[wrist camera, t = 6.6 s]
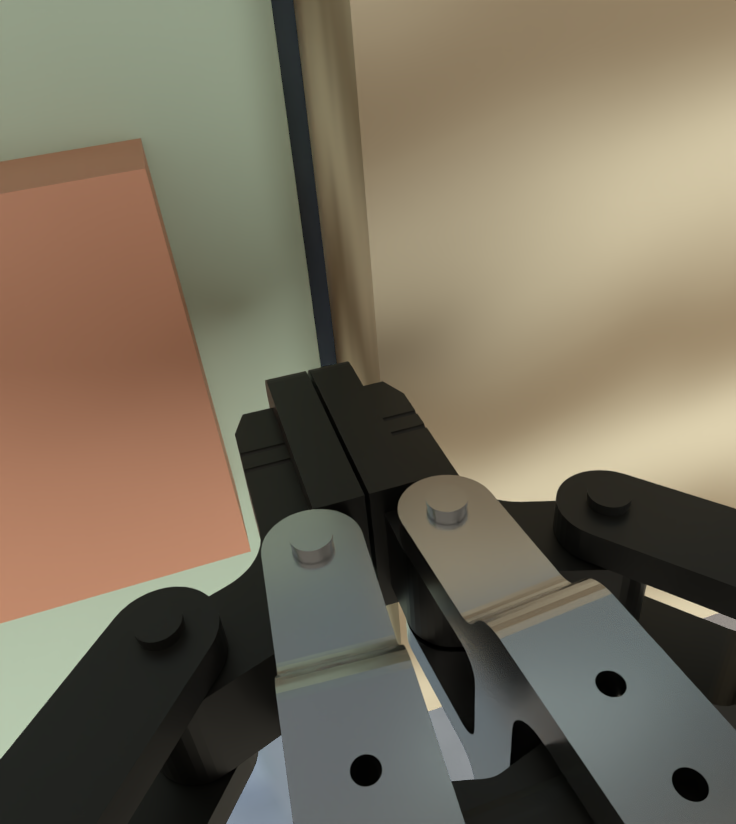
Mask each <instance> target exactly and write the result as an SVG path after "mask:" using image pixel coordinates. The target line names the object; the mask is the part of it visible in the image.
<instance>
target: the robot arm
mask: <svg viewBox="0 0 736 824" xmlns="http://www.w3.org/2000/svg"><path fill="white" fill-rule="evenodd" d="M265 386H266V392H267V397H268V402H269V407H270V408H268V409H264V410H260V411H255V412H251V413H247V414H243V415H242V417H241V420H240V422H239V425H238V427H237V430H236V432H235V438H236V442H237V446H238V450H239V454H240V459H241V463H242V467H243V471H244V475H245V480H246V484H247V488H248V492H249V496H250V501H251V505H252V509H253V512H254V516H255V520H256V524H257V528H258V532H259V536H260V540H261V541H260V548H259V551H258V554H257V556H256V558H255V560H254V561H253V563H252V564H251V566H250V567H249V568H248V569H247V570H246V571H245V572H244V574H242V575H241V576H240V577H239V578H238V579H236V580H235V581H234V582H232V583H230V584H229V585H227V586H226V587H224V588H222V589H221V590H219V591H217V592H215V593H214V594H212V595H210V596H208V595H206V594H205V593H203V592H201V591H199V590H197V589H194V588H189V587H177V586H175V587H166V588H162V589H158V590H155V591H152V592H149V593H147V594H145V595H143V596H141V597H139V598H137V599H136V600H134V601H133V602H131V603H130V604H128V605H127V606H126V607H125V608H124V609H122V610H121V611H120V612H119V614H118V615H117V616H116V617H115V618H114V619H113V620H112V622H111V623H110V624H109V625H108V627H107V628H106V629H105V630H104V631H103V633H102V634H101V635H100V636H99V638H98V639H97V640H96V641H95V643H94V644H93V645H92V646H91V648H90V649H89V650H88V651H87V653H86V654H85V655H84V656H83V657H82V659H81V660H80V661H79V662H78V664H77V665H76V666H75V667H74V669H73V670H72V671H71V672H70V674H69V675H68V676H67V677H66V679H65V680H64V681H63V682H62V683H61V685H60V686H59V687H58V688H57V690H56V691H55V692H54V693H53V695H52V696H51V697H50V698H49V700H48V701H47V702H46V703H45V705H44V706H43V707H42V708H41V709H40V711H39V712H38V713H37V714H36V716H35V717H34V718H33V719H32V721H31V722H30V723H29V724H28V726H27V727H26V728H25V729H24V730H23V732H22V733H21V734H20V735H19V737H18V738H17V739H16V740H15V742H14V743H13V744H12V745H11V747H10V748H9V749H8V750H7V752H6V753H5V754H4V755H3V756H2V758H1V759H0V824H226V823H227V821H228V819H229V817H230V815H231V813H232V811H233V809H234V807H235V805H236V803H237V801H238V799H239V797H240V795H241V793H242V791H243V789H244V787H245V785H246V783H247V781H248V779H249V777H250V775H251V773H252V771H253V769H254V766H255V764H256V761H257V757H258V751H260V750H261V749H262V748H264V747H265V746H267V745H268V744H269V743H271V742H272V741H273V740H275V739H276V738H278V737H279V736H280V735H281V736H282V743H283V751H284V758H285V766H286V774H287V781H288V789H289V796H290V804H291V811H292V819H293V824H736V631H734V630H731V629H728V628H725V627H723V626H720V625H718V624H715V623H713V622H710V621H708V620H705V619H702V618H700V617H697V616H695V615H692V614H690V613H687V612H685V611H682V610H680V609H677V608H675V607H672V606H670V605H667V604H664V603H662V602H659V601H657V600H654V599H652V598H649V597H647V596H644V595H645V590H646V586H647V585H648V586H651V587H653V588H656V589H659V590H661V591H664V592H666V593H669V594H672V595H674V596H677V597H679V598H682V599H684V600H687V601H690V602H692V603H695V604H697V605H700V606H703V607H705V608H708V609H710V610H713V611H716V612H718V613H721V614H723V615H726V616H728V617H731V618H734V619H736V509H735V508H732V507H729V506H726V505H723V504H719V503H716V502H713V501H710V500H707V499H703V498H700V497H697V496H694V495H691V494H687V493H684V492H681V491H678V490H675V489H671V488H668V487H665V486H662V485H659V484H655V483H652V482H649V481H646V480H643V479H639V478H636V477H633V476H630V475H627V474H623V473H619V472H615V471H608V470H591V471H585V472H581V473H578V474H575V475H573V476H571V477H569V478H568V479H566V480H565V481H564V482H563V483H562V484H561V485H560V487H559V489H558V491H557V495H556V501H529V502H511V501H503V500H498V499H496V498H495V496H494V495H493V494H492V493H491V492H490V491H489V490H488V489H487V488H486V487H485V486H483V485H482V484H480V483H479V482H477V481H475V480H472V479H469V478H466V477H462V476H459V475H458V473H457V472H456V470H455V469H454V467H453V466H452V464H451V463H450V461H449V460H448V458H447V457H446V455H445V454H444V452H443V451H442V449H441V448H440V446H439V445H438V443H437V442H436V440H435V439H434V437H433V436H432V434H431V433H430V431H429V430H428V428H427V427H426V428H425V425H424V423H423V421H422V420H421V418H420V417H419V415H418V414H416V412H415V409H414V408H413V406H412V405H411V403H410V402H409V400H408V399H407V397H406V396H405V394H404V393H402V392H401V391H399V390H397V389H396V388H394V387H392V386H390V385H389V384H387V383H385V382H383V381H382V382H378V383H373V384H369V385H365V386H363V384H362V383H361V381H360V379H359V377H358V376H357V374H356V372H355V371H354V369H353V367H352V366H351V364H350V363H349V362H348V361H346V362H342V363H337V364H333V365H329V366H324V367H320V368H315V369H311V370H308V374H307V372H306V371H303V372H299V373H294V374H290V375H285V376H281V377H277V378H272V379H268V380H265ZM397 602H399V604H400V606H401V608H402V610H403V613H404V615H405V617H406V627H407V638H408V643H409V645H410V647H411V650H412V651H413V653H414V655H415V657H416V659H417V661H418V663H419V664H420V666H421V668H422V670H423V672H424V674H425V676H426V678H427V679H428V681H429V683H430V685H431V687H432V689H433V691H434V692H435V694H436V696H437V698H438V700H439V702H440V704H441V705H442V707H443V709H444V711H445V713H446V715H447V717H448V719H449V720H450V722H451V724H452V726H453V728H454V730H455V732H456V733H457V735H458V737H459V739H460V741H461V743H462V745H463V747H464V749H465V751H466V753H467V756H468V758H469V761H470V764H471V767H472V771H473V775H474V780H462V781H451V779H450V776H449V773H448V770H447V767H446V764H445V761H444V758H443V755H442V752H441V749H440V746H439V743H438V740H437V737H436V734H435V731H434V728H433V725H432V722H431V719H430V716H429V713H428V709H427V706H426V703H425V700H424V697H423V694H422V691H421V688H420V685H419V682H418V679H417V676H416V673H415V670H414V667H413V664H412V661H411V659H410V656H409V653H408V651H407V649H406V647H405V646H404V645H399V644H398V642H397V639H396V636H395V633H394V630H393V627H392V624H391V621H390V618H389V614H388V611H387V608H386V606H387V605H390V604H393V603H397Z"/></svg>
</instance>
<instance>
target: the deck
mask: <svg viewBox="0 0 736 824" xmlns="http://www.w3.org/2000/svg"><path fill="white" fill-rule="evenodd" d="M293 2H294V10H295V19H296V27H297V35H298V44H299V52H300V60H301V69H302V77H303V85H304V94H305V102H306V110H307V119H308V127H309V135H310V143H311V152H312V160H313V168H314V177H315V185H316V193H317V202H318V210H319V218H320V227H321V235H322V243H323V252H324V260H325V268H326V277H327V285H328V293H329V302H330V310H331V318H332V327H333V335H334V343H335V352H336V360H337V363H342V362H346V361H348V362H349V363H350V364H351V366H352V367H353V369H354V371H355V372H356V374H357V376H358V377H359V379H360V381H361V383H362V384H363V386H365V385H369V384H373V383H378V382H382V381H383V382H385V383H387V384H389V385H390V386H392V387H394V388H396V389H397V390H399V391H401V392H402V393H404V394H405V396H406V397H407V399H408V400H409V402H410V403H411V405H412V406H413V408H414V409H415V412H416V414H418V415H419V417H420V418H421V420H422V421H423V423H424V425H425V428H426V427H427V428H428V430H429V431H430V433H431V434H432V436H433V437H434V439H435V440H436V442H437V443H438V445H439V446H440V448H441V449H442V451H443V452H444V454H445V455H446V457H447V458H448V460H449V461H450V463H451V464H452V466H453V467H454V469H455V470H456V472H457V473H458V475H459V476H462V477H466V478H469V479H472V480H475V481H477V482H479V483H480V484H482V485H483V486H485V487H486V488H487V489H488V490H489V491H490V492H491V493H492V494H493V495H494V496H495V498H496V499H498V500H503V501H511V502H529V501H556V495H557V491H558V489H559V487H560V485H561V484H562V483H563V482H564V481H565V480H566V479H568V478H569V477H571V476H573V475H575V474H578V473H581V472H585V471H591V470H608V471H615V472H619V473H623V474H627V475H630V476H633V477H636V478H639V479H643V480H646V481H649V482H652V483H655V484H659V485H662V486H665V487H668V488H671V489H675V490H678V491H681V492H684V493H687V494H691V495H694V496H697V497H700V498H703V499H707V500H710V501H713V502H716V503H719V504H723V505H726V506H729V507H732V508H735V509H736V0H293ZM644 596H647V597H649V598H652V599H654V600H657V601H659V602H662V603H664V604H667V605H670V606H672V607H675V608H677V609H680V610H682V611H685V612H687V613H690V614H692V615H695V616H697V617H700V618H705V617H708V616H711V615H714V614H717V613H718V612H716V611H713V610H710V609H708V608H705V607H703V606H700V605H697V604H695V603H692V602H690V601H687V600H684V599H682V598H679V597H677V596H674V595H672V594H669V593H666V592H664V591H661V590H659V589H656V588H653V587H651V586H648V585H647V586H646V590H645V595H644ZM386 608H387V611H388V614H389V618H390V621H391V624H392V627H393V630H394V633H395V636H396V639H397V642H398V644H399V645H404V646H405V647H406V649H407V651H408V653H409V656H410V659H411V661H412V664H413V667H414V670H415V673H416V676H417V679H418V682H419V685H420V688H421V691H422V694H423V697H424V700H425V703H426V706H427V709H428V711H431V710H434V709H437V708H440V707H442V705H441V704H440V702H439V700H438V698H437V696H436V694H435V692H434V691H433V689H432V687H431V685H430V683H429V681H428V679H427V678H426V676H425V674H424V672H423V670H422V668H421V666H420V664H419V663H418V661H417V659H416V657H415V655H414V653H413V651H412V650H411V647H410V645H409V643H408V638H407V627H406V617H405V615H404V613H403V610H402V608H401V606H400V604H399V602H397V603H393V604H390V605H387V606H386Z"/></svg>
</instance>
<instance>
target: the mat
mask: <svg viewBox="0 0 736 824" xmlns="http://www.w3.org/2000/svg"><path fill="white" fill-rule="evenodd" d="M139 138H141V141H142V145H143V148H144V152H145V156H146V159H147V163H148V167H149V170H150V174H151V178H152V181H153V185H154V189H155V192H156V196H157V200H158V203H159V207H160V211H161V214H162V218H163V222H164V225H165V229H166V233H167V236H168V240H169V244H170V247H171V251H172V255H173V258H174V262H175V266H176V269H177V273H178V277H179V280H180V284H181V288H182V291H183V295H184V299H185V302H186V306H187V310H188V313H189V317H190V321H191V324H192V328H193V332H194V335H195V339H196V343H197V346H198V350H199V354H200V357H201V361H202V364H203V368H204V372H205V375H206V379H207V383H208V386H209V390H210V394H211V397H212V401H213V405H214V408H215V412H216V416H217V419H218V423H219V427H220V430H221V434H222V438H223V441H224V445H225V449H226V452H227V456H228V460H229V463H230V467H231V471H232V474H233V478H234V482H235V485H236V489H237V493H238V498H239V502H240V506H241V510H242V515H243V519H244V523H245V528H246V532H247V536H248V541H249V545H250V549H251V551H250V552H247V553H243V554H240V555H237V556H233V557H230V558H226V559H223V560H219V561H216V562H212V563H209V564H205V565H202V566H198V567H195V568H191V569H188V570H185V571H181V572H178V573H174V574H171V575H167V576H164V577H160V578H157V579H153V580H150V581H146V582H143V583H139V584H136V585H132V586H129V587H126V588H122V589H119V590H115V591H112V592H108V593H105V594H101V595H98V596H94V597H91V598H87V599H84V600H80V601H77V602H74V603H70V604H67V605H63V606H60V607H56V608H53V609H49V610H46V611H42V612H39V613H35V614H32V615H28V616H25V617H22V618H18V619H15V620H11V621H8V622H4V623H1V624H0V758H2V756H3V755H4V754H5V753H6V752H7V750H8V749H9V748H10V747H11V745H12V744H13V743H14V742H15V740H16V739H17V738H18V737H19V735H20V734H21V733H22V732H23V730H24V729H25V728H26V727H27V726H28V724H29V723H30V722H31V721H32V719H33V718H34V717H35V716H36V714H37V713H38V712H39V711H40V709H41V708H42V707H43V706H44V705H45V703H46V702H47V701H48V700H49V698H50V697H51V696H52V695H53V693H54V692H55V691H56V690H57V688H58V687H59V686H60V685H61V683H62V682H63V681H64V680H65V679H66V677H67V676H68V675H69V674H70V672H71V671H72V670H73V669H74V667H75V666H76V665H77V664H78V662H79V661H80V660H81V659H82V657H83V656H84V655H85V654H86V653H87V651H88V650H89V649H90V648H91V646H92V645H93V644H94V643H95V641H96V640H97V639H98V638H99V636H100V635H101V634H102V633H103V631H104V630H105V629H106V628H107V627H108V625H109V624H110V623H111V622H112V620H113V619H114V618H115V617H116V616H117V615H118V614H119V612H120V611H121V610H122V609H124V608H125V607H126V606H127V605H128V604H130V603H131V602H133V601H134V600H136V599H137V598H139V597H141V596H143V595H145V594H147V593H149V592H152V591H155V590H158V589H162V588H166V587H175V586H177V587H189V588H194V589H197V590H199V591H201V592H203V593H205V594H206V595H208V596H210V595H212V594H214V593H215V592H217V591H219V590H221V589H222V588H224V587H226V586H227V585H229V584H230V583H232V582H234V581H235V580H236V579H238V578H239V577H240V576H241V575H242V574H244V572H245V571H246V570H247V569H248V568H249V567H250V566H251V564H252V563H253V561H254V560H255V558H256V556H257V554H258V551H259V548H260V541H261V540H260V536H259V532H258V528H257V524H256V520H255V516H254V512H253V509H252V505H251V501H250V496H249V492H248V488H247V484H246V480H245V475H244V471H243V467H242V463H241V459H240V454H239V450H238V446H237V442H236V438H235V432H236V430H237V427H238V425H239V422H240V420H241V417H242V415H243V414H247V413H251V412H255V411H260V410H264V409H268V408H270V407H269V402H268V397H267V392H266V386H265V380H268V379H272V378H277V377H281V376H285V375H290V374H294V373H299V372H303V371H306V372H307V374H308V370H311V369H315V368H320V367H321V365H320V358H319V350H318V343H317V336H316V328H315V321H314V314H313V306H312V299H311V291H310V284H309V277H308V269H307V262H306V255H305V247H304V240H303V233H302V225H301V218H300V211H299V203H298V196H297V189H296V181H295V174H294V167H293V159H292V152H291V145H290V137H289V130H288V123H287V115H286V108H285V100H284V93H283V86H282V78H281V71H280V64H279V56H278V49H277V42H276V34H275V27H274V20H273V12H272V5H271V0H0V162H1V161H7V160H13V159H19V158H25V157H31V156H37V155H43V154H49V153H55V152H61V151H67V150H73V149H79V148H85V147H91V146H97V145H103V144H109V143H115V142H121V141H127V140H133V139H139Z"/></svg>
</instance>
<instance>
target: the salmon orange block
mask: <svg viewBox="0 0 736 824" xmlns="http://www.w3.org/2000/svg"><path fill="white" fill-rule="evenodd" d="M250 551H251V549H250V545H249V541H248V536H247V532H246V528H245V523H244V519H243V515H242V510H241V506H240V502H239V498H238V493H237V489H236V485H235V482H234V478H233V474H232V471H231V467H230V463H229V460H228V456H227V452H226V449H225V445H224V441H223V438H222V434H221V430H220V427H219V423H218V419H217V416H216V412H215V408H214V405H213V401H212V397H211V394H210V390H209V386H208V383H207V379H206V375H205V372H204V368H203V364H202V361H201V357H200V354H199V350H198V346H197V343H196V339H195V335H194V332H193V328H192V324H191V321H190V317H189V313H188V310H187V306H186V302H185V299H184V295H183V291H182V288H181V284H180V280H179V277H178V273H177V269H176V266H175V262H174V258H173V255H172V251H171V247H170V244H169V240H168V236H167V233H166V229H165V225H164V222H163V218H162V214H161V211H160V207H159V203H158V200H157V196H156V192H155V189H154V185H153V181H152V178H151V174H150V170H149V167H148V163H147V159H146V156H145V152H144V148H143V145H142V141H141V138H139V139H133V140H127V141H121V142H115V143H109V144H103V145H97V146H91V147H85V148H79V149H73V150H67V151H61V152H55V153H49V154H43V155H37V156H31V157H25V158H19V159H13V160H7V161H1V162H0V624H1V623H4V622H8V621H11V620H15V619H18V618H22V617H25V616H28V615H32V614H35V613H39V612H42V611H46V610H49V609H53V608H56V607H60V606H63V605H67V604H70V603H74V602H77V601H80V600H84V599H87V598H91V597H94V596H98V595H101V594H105V593H108V592H112V591H115V590H119V589H122V588H126V587H129V586H132V585H136V584H139V583H143V582H146V581H150V580H153V579H157V578H160V577H164V576H167V575H171V574H174V573H178V572H181V571H185V570H188V569H191V568H195V567H198V566H202V565H205V564H209V563H212V562H216V561H219V560H223V559H226V558H230V557H233V556H237V555H240V554H243V553H247V552H250Z"/></svg>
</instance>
